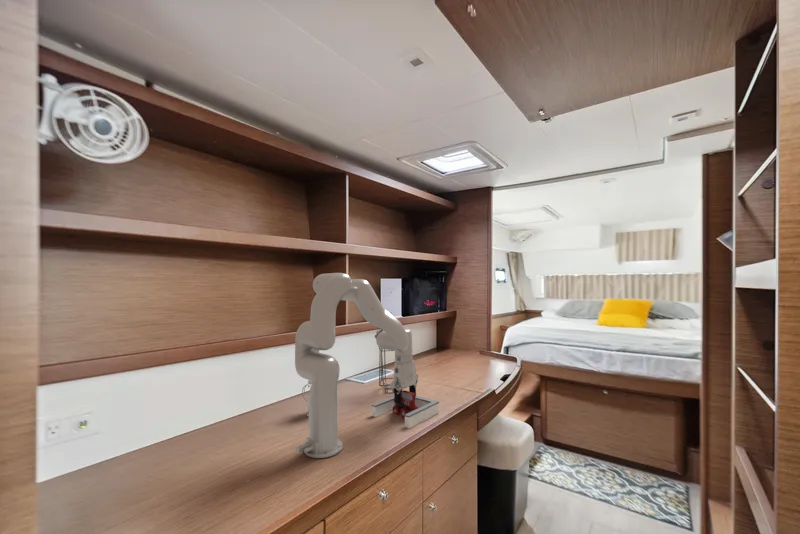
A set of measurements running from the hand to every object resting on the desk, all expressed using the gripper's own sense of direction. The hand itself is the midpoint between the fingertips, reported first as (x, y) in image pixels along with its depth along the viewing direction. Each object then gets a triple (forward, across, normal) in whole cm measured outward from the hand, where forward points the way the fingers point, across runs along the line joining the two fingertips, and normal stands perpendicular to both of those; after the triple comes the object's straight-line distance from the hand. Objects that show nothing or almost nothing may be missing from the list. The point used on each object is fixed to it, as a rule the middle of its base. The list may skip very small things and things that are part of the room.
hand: (405, 399), depth 146 cm
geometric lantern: (+7, +19, +26) cm, 33 cm away
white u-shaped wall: (+6, -1, 0) cm, 6 cm away
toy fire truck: (+6, -1, 0) cm, 7 cm away
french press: (+6, -23, +32) cm, 40 cm away
